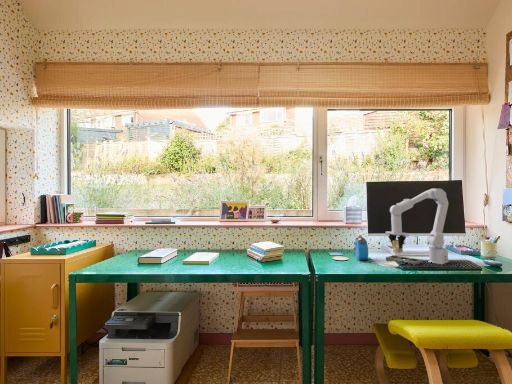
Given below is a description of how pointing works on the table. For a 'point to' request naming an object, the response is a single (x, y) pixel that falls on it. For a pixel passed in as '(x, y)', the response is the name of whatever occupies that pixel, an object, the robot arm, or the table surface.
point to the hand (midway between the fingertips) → (397, 247)
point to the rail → (400, 258)
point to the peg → (396, 247)
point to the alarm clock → (361, 248)
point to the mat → (392, 264)
